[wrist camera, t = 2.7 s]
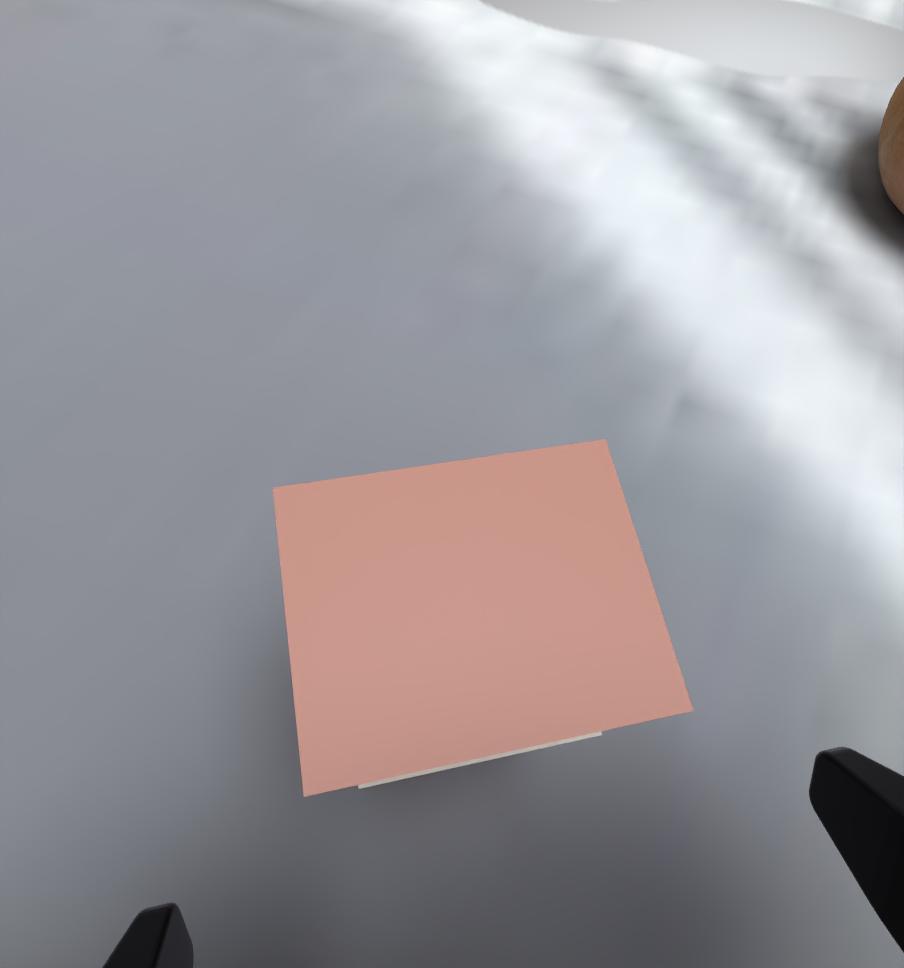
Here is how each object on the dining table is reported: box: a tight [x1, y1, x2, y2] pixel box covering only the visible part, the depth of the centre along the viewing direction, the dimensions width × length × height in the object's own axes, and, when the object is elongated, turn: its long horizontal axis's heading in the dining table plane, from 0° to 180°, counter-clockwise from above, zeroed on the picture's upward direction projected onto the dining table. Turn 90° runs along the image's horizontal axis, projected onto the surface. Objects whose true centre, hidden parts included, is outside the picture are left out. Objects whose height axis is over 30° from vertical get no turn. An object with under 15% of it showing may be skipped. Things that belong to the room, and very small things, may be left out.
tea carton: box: [273, 439, 693, 797], centre depth 14 cm, size 4×5×12 cm
